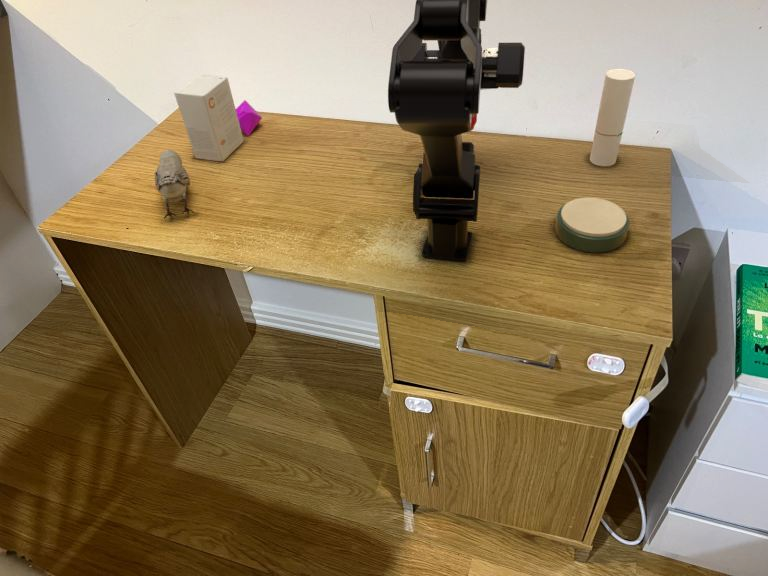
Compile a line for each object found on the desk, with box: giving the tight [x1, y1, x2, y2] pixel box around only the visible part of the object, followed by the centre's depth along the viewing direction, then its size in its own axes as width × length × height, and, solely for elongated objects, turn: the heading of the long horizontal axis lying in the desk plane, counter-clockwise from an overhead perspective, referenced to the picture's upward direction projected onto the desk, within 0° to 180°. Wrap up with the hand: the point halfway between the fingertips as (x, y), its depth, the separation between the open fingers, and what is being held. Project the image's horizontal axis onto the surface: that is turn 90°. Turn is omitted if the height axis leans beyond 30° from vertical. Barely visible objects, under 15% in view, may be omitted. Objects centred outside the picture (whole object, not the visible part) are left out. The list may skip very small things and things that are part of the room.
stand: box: [554, 197, 630, 254], centre depth 86 cm, size 10×10×3 cm
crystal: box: [235, 99, 263, 137], centre depth 118 cm, size 5×5×5 cm
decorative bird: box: [154, 149, 195, 220], centre depth 99 cm, size 5×16×7 cm, turn 17°
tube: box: [589, 68, 636, 167], centre depth 96 cm, size 4×4×15 cm
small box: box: [174, 74, 245, 163], centre depth 109 cm, size 8×6×13 cm
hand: (463, 86), depth 98 cm, fingers closed on beverage can, 5 cm apart
